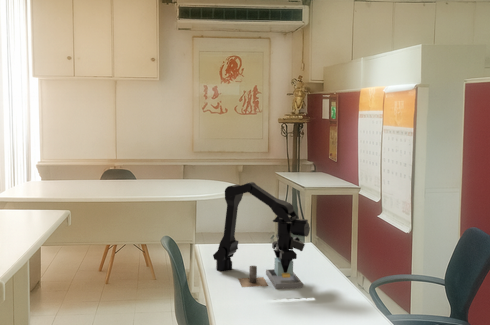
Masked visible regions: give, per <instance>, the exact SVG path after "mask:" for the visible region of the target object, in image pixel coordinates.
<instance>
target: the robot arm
mask: <svg viewBox="0 0 490 325" xmlns="http://www.w3.org/2000/svg"><path fill="white" fill-rule="evenodd" d="M246 193H249V194H250V195H252V196H253V197H254V198H256V199H258V200H259V201H261V202H262V203H264V204H265V205H266V206H268V207H269V208H270V209H271V211H272V213H274V215H276V217H274V219H273V220H272V222H273V223H277V231H276V232H277V234H276V235H275V238H276V239H277V241H273V242H272V243H271V247H272V249H273V252H274V254H275V258H279V259H280V262H281V265H282V268H283V271H284V273H287V270H288V267H289V264H290V261H291V260H292V261H294V260H296V259H297V258H298V257H297V253H296V252H295V251H294V249H295V250H298V251H300V252H303V250H304V247H305V245H306V244H305V243H304V242H303V241H302V240H300V238H299V237H308V236H309V235H310V231H311V226H310V223H309V220H308V219H305V218H304V219H301V218H299V216H298V215H297V213H296V212H295V210H294V206H293V204H292V203H291V202H289V201H285V200H283V199H280V198H277V197H275V196H274V195H272V194H271V193H269V192H268V191H266V190H265V189H263V187H260V186H259V185H257V184H256V183H255V182H253V181H250V182H247V183H244V184H241V185H240V184H232V185H228V186H227V187H225V190H224V200H225V203H226V212H225V220H224V228H223V230H224V231H223V237H222V238H221V240H220V242H219V245H218V248H217V251H215V253H214V254H212V257H213V260H214V261H215V264H216V265H215V266H216V267H215V270H216V271H217V272H218V271H219V272H228V271H232V270H233V261H232V257H234V255H235V253H236V252H237V250H239V247H238V246H239V240H236V237H235V234H236V226H237V218H238V217H237V216H238V209H239V208H238V207H239V205H240V203H241V201H242V199H243V195H244V194H246ZM292 235H293V236H294V237H293V236H292Z"/></svg>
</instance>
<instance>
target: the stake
mask: <svg viewBox="0 0 490 325" xmlns="http://www.w3.org/2000/svg"><path fill="white" fill-rule="evenodd" d="M257 271H258V267H257V265H249V277H240V278H239V277H238V278H237V280H238V282H239V285H240V286H241V288H248V287H249V288H252V287H253V288H254V287H269V283H268V282H267V281H266V279H265V278H264V276H263V277H262V276H261V277H257V276H258V275H257V274H258V272H257Z"/></svg>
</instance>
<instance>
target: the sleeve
mask: <svg viewBox="0 0 490 325" xmlns="http://www.w3.org/2000/svg"><path fill="white" fill-rule="evenodd" d="M273 268H274V272H275V273H276V274H277V276H282V277H283V278H288V277H290V276H293V272H294V260H291V261H290V264H289V267H288V270H287V273H284V271H283V268H282V265H281V262H280V259H279V258H276V257H274V267H273Z"/></svg>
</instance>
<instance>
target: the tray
mask: <svg viewBox="0 0 490 325" xmlns="http://www.w3.org/2000/svg"><path fill="white" fill-rule="evenodd" d="M265 275H266V276H267V278H268V280H269V281H270V283H271V284H272V285H273V287H274V289H275V290H284V289H285V290H286V289H289V290H290V289H303V288H304V287H303V284H304V283H303V282H302V280H301V279H300V278H299V276H298V275H296V273H295V272H294V271H293V276H290V277H288V278H283V277H282V276H277V274H276V273H275V272H274V269H272V268H271V269H265Z"/></svg>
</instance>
